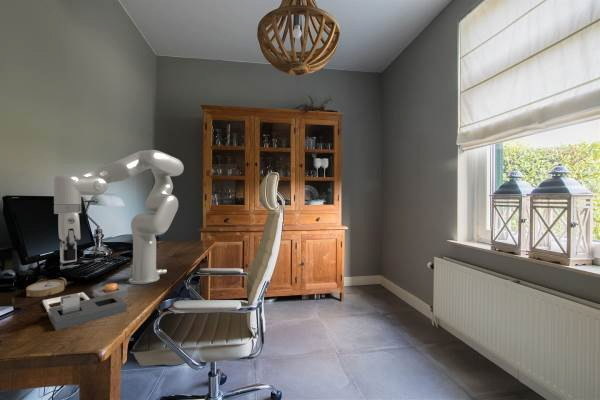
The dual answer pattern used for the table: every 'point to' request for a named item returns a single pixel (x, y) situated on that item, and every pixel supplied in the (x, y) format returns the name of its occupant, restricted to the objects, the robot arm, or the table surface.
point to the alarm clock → (46, 287)
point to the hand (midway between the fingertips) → (68, 258)
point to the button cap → (110, 287)
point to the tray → (58, 299)
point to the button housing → (119, 293)
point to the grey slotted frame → (88, 311)
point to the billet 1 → (62, 247)
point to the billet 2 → (70, 304)
